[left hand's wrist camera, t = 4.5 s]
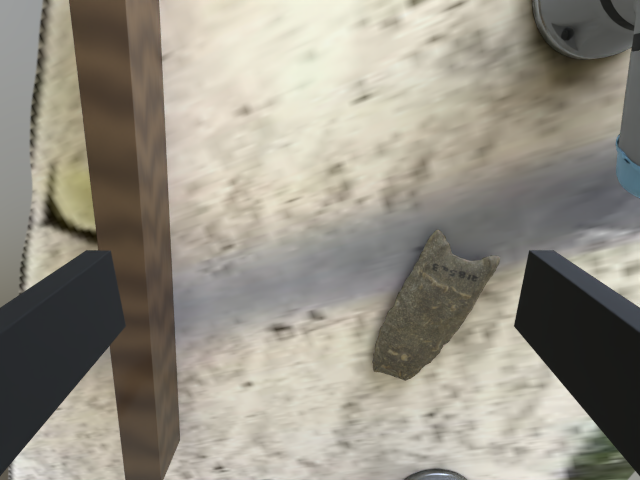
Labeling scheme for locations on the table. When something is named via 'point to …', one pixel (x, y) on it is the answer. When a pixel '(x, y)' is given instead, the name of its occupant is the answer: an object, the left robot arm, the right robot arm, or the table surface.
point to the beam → (132, 215)
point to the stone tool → (429, 308)
